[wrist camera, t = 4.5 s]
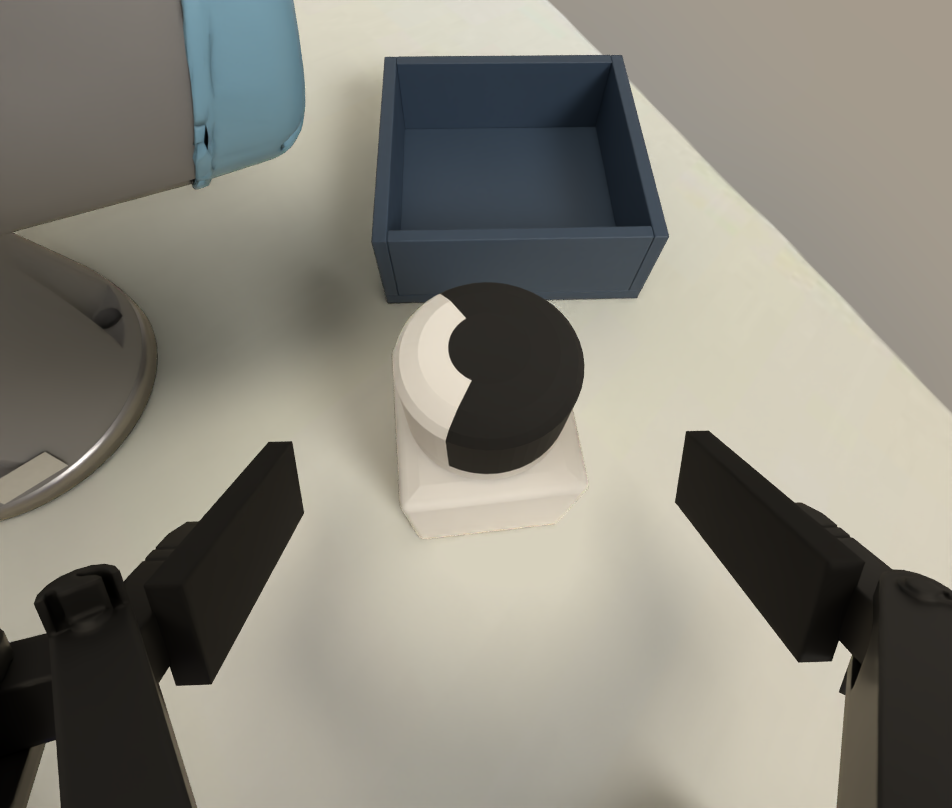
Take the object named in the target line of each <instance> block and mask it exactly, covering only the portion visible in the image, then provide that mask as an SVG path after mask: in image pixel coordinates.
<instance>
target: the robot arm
mask: <svg viewBox="0 0 952 808" xmlns="http://www.w3.org/2000/svg"><path fill="white" fill-rule="evenodd" d="M304 112H305V81H304V70H303V62H302V54H301V47H300V40H299V33H298V26H297V20H296V14H295V8H294V2H293V0H0V521H2V520H5V519H9V518H12V517H15V516H18V515H20V514H23V513H26V512H28V511H31V510H33V509H35V508H37V507H39V506H42V505H44V504H46V503H48V502H50V501H51V500H53V499H55V498H57V497H59V496H60V495H62V494H64V493H65V492H67V491H68V490H70V489H71V488H73V487H74V486H76V485H77V484H79V483H80V482H81V481H83V480H84V479H85V478H87V477H88V476H89V475H91V474H92V473H93V472H94V471H95V470H96V469H97V468H99V467H100V466H101V465H102V464H103V463H104V462H105V461H106V460H107V459H108V458H109V457H110V456H111V455H112V454H113V453H114V452H115V451H116V450H117V448H118V447H119V446H120V445H121V444H122V443H123V441H124V440H125V439H126V437H127V436H128V435H129V433H130V432H131V431H132V429H133V428H134V426H135V424H136V423H137V421H138V420H139V418H140V416H141V414H142V412H143V410H144V408H145V406H146V404H147V402H148V399H149V397H150V394H151V392H152V388H153V385H154V381H155V376H156V370H157V345H156V340H155V335H154V333H153V330H152V327H151V325H150V323H149V321H148V319H147V317H146V316H145V314H144V313H143V311H142V310H141V309H140V308H139V307H138V306H137V305H136V304H135V302H133V301H132V300H131V299H130V298H129V297H128V296H127V295H126V294H125V293H124V292H123V291H122V290H121V289H119V288H118V287H117V286H116V285H115V284H113V283H112V282H110V281H109V280H107V279H106V278H104V277H103V276H101V275H100V274H98V273H97V272H95V271H94V270H92V269H90V268H88V267H86V266H84V265H82V264H80V263H77V262H75V261H73V260H71V259H69V258H67V257H64V256H62V255H60V254H58V253H56V252H54V251H51V250H49V249H47V248H45V247H43V246H41V245H38V244H36V243H34V242H32V241H30V240H28V239H25V238H23V237H21V236H19V235H17V234H15V233H12V232H14V231H18V230H22V229H26V228H29V227H33V226H37V225H40V224H44V223H48V222H52V221H55V220H59V219H63V218H66V217H70V216H74V215H78V214H81V213H85V212H89V211H92V210H96V209H100V208H104V207H107V206H111V205H115V204H118V203H122V202H126V201H130V200H133V199H137V198H141V197H144V196H148V195H152V194H156V193H159V192H163V191H167V190H170V189H174V188H178V187H182V186H185V185H189V184H192V186H193V188H194V189H201V188H204V187H206V186H208V185H209V184H210V182H211V179H212V178H215V177H218V176H221V175H224V174H227V173H231V172H234V171H237V170H240V169H243V168H246V167H249V166H252V165H255V164H259V163H262V162H265V161H268V160H271V159H274V158H276V157H278V156H280V155H282V154H283V153H285V152H286V151H287V150H288V149H289V148H291V146H292V145H293V144H294V142H295V141H296V139H297V137H298V135H299V133H300V131H301V129H302V125H303V119H304ZM675 503H676V504H677V505H678V506H679V508H680V509H681V510H682V512H683V513H684V514H685V516H686V517H687V518H688V519H689V521H690V522H691V523H692V525H693V526H694V527H695V529H696V530H697V531H698V532H699V534H700V535H701V536H702V538H703V539H704V540H705V542H706V543H707V544H708V545H709V547H710V548H711V549H712V551H713V552H714V553H715V555H716V556H717V557H718V558H719V560H720V561H721V562H722V564H723V565H724V566H725V568H726V569H727V570H728V571H729V573H730V574H731V575H732V577H733V578H734V579H735V581H736V582H737V583H738V584H739V586H740V587H741V588H742V590H743V591H744V592H745V594H746V595H747V596H748V597H749V599H750V600H751V601H752V603H753V604H754V605H755V607H756V608H757V609H758V610H759V612H760V613H761V614H762V616H763V617H764V618H765V620H766V621H767V622H768V623H769V625H770V626H771V627H772V629H773V630H774V631H775V633H776V634H777V635H778V636H779V638H780V639H781V640H782V642H783V643H784V644H785V646H786V647H787V648H788V649H789V651H790V652H791V653H792V655H793V656H794V657H795V659H796V660H797V661H798V662H825V661H832V659H833V656H834V653H835V650H836V647H837V644H838V641H840V642H841V643H842V644H843V645H844V646H845V647H846V648H847V649H848V650H849V652H850V653H851V654H852V657H851V659H850V662H849V665H848V668H847V671H846V673H845V676H844V679H843V682H842V685H841V687H840V690H839V693H842V694H844V695H845V694H846V695H845V708H844V721H843V733H842V746H841V759H840V771H839V784H838V796H837V808H952V591H951V590H950V589H949V588H948V587H946V586H944V585H942V584H941V583H939V582H937V581H935V580H933V579H931V578H928V577H926V576H923V575H921V574H918V573H914V572H910V571H905V570H892V569H891V568H890V567H889V566H887V565H886V564H885V563H884V562H882V561H881V560H880V559H879V558H877V557H876V556H875V555H874V554H872V553H871V552H870V551H869V550H867V549H866V548H865V547H864V546H862V545H861V544H860V543H859V542H857V541H856V540H855V539H854V538H850V535H849V534H847V533H846V532H845V531H844V530H842V529H841V528H838V527H837V525H836V524H835V523H834V522H833V521H831V520H830V519H829V518H828V517H826V516H825V515H824V514H823V513H821V512H819V511H817V510H815V509H813V508H811V507H809V506H807V505H805V504H803V503H794V502H793V501H792V500H791V499H790V498H788V497H787V496H786V495H785V494H784V493H782V492H781V491H780V490H779V489H778V488H776V487H775V486H774V485H773V484H772V483H770V482H769V481H768V480H767V479H766V478H764V477H763V476H762V475H761V474H760V473H759V472H757V471H756V470H755V469H754V468H753V467H751V466H750V465H749V464H748V463H747V462H745V461H744V460H743V459H742V458H741V457H739V456H738V455H737V454H736V453H735V452H733V451H732V450H731V449H730V448H729V447H727V446H726V445H725V444H724V443H723V442H721V441H720V440H719V439H718V438H717V437H715V436H714V435H713V434H712V433H711V432H710V431H686V435H685V442H684V448H683V455H682V461H681V467H680V474H679V480H678V487H677V493H676V499H675ZM303 514H304V510H303V504H302V498H301V492H300V486H299V480H298V474H297V468H296V462H295V456H294V450H293V444H292V441H289V442H268V443H267V445H266V446H265V447H264V448H263V449H262V450H261V451H260V452H259V454H258V455H257V456H256V457H255V458H254V459H253V460H252V462H251V463H250V464H249V465H248V466H247V467H246V468H245V470H244V471H243V472H242V473H241V474H240V475H239V476H238V478H237V479H236V480H235V481H234V482H233V483H232V484H231V486H230V487H229V488H228V489H227V490H226V491H225V492H224V494H223V495H222V496H221V497H220V498H219V499H218V500H217V502H216V503H215V504H214V505H213V506H212V507H211V508H210V510H209V511H208V512H207V513H206V514H205V515H204V516H203V518H202V519H201V520H200V521H199V522H186V523H185V524H183V525H182V526H180V527H178V528H177V529H175V530H174V531H172V532H171V533H169V534H168V535H167V536H166V537H165V538H164V539H163V540H162V541H161V542H160V543H159V544H158V545H157V547H156V550H153V551H152V552H151V553H150V554H149V555H148V556H147V557H146V558H145V561H142V563H141V564H140V565H139V566H138V567H137V568H136V569H135V570H134V571H133V572H132V573H131V574H130V575H129V576H128V577H127V578H126V580H125V581H124V582H123V579H122V576H121V573H120V571H119V570H118V569H117V567H116V566H113V565H108V564H99V565H90V566H87V567H83V568H80V569H76V570H74V571H72V572H70V573H67V574H65V575H63V576H61V577H59V578H57V579H56V580H54V581H53V582H51V583H50V584H48V585H47V586H46V587H45V588H44V589H43V590H42V591H41V592H40V593H39V594H38V595H37V597H36V599H35V602H34V605H35V608H36V610H37V612H38V614H39V617H40V619H41V621H42V624H43V626H44V628H45V630H46V634H42V635H38V636H34V637H30V638H26V639H22V640H18V641H14V642H10V643H9V641H8V639H7V637H6V635H5V633H4V631H3V630H1V629H0V808H26V806H27V803H28V800H29V796H30V793H31V790H32V787H33V783H34V780H35V777H36V773H37V770H38V767H39V764H40V760H41V757H42V754H43V750H44V747H45V744H46V743H47V742H50V741H54V740H56V746H57V760H58V773H59V787H60V801H61V808H197V805H196V802H195V799H194V796H193V792H192V789H191V786H190V783H189V779H188V776H187V773H186V770H185V766H184V763H183V760H182V757H181V753H180V750H179V747H178V744H177V740H176V737H175V734H174V731H173V727H172V724H171V721H170V718H169V714H168V711H167V708H166V705H165V702H164V698H163V695H162V692H161V689H160V686H159V682H160V680H161V679H162V677H163V675H164V674H165V672H166V671H167V669H168V668H169V666H170V669H171V672H172V675H173V678H174V681H175V684H176V686H182V685H209V684H212V682H213V681H214V679H215V677H216V675H217V673H218V671H219V669H220V668H221V666H222V664H223V662H224V660H225V658H226V657H227V655H228V653H229V651H230V649H231V647H232V645H233V644H234V642H235V640H236V638H237V636H238V634H239V632H240V631H241V629H242V627H243V625H244V623H245V621H246V619H247V618H248V616H249V614H250V612H251V610H252V608H253V606H254V605H255V603H256V601H257V599H258V597H259V595H260V594H261V592H262V590H263V588H264V586H265V584H266V582H267V581H268V579H269V577H270V575H271V573H272V571H273V569H274V568H275V566H276V564H277V562H278V560H279V558H280V556H281V555H282V553H283V551H284V549H285V547H286V545H287V543H288V542H289V540H290V538H291V536H292V534H293V532H294V531H295V529H296V527H297V525H298V523H299V521H300V519H301V518H302V516H303Z"/></svg>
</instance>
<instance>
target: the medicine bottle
mask: <svg viewBox="0 0 952 808" xmlns="http://www.w3.org/2000/svg"><path fill="white" fill-rule="evenodd" d="M392 366H393V386H394V405H395V425H396V444H397V464H398V483H399V503H400V507H401V509H402V511H403V513H404V514H405V516H406V517H407V519H408V521H409V522H410V524H411V525H412V527H413V528H414V530H415V532H416V533H417V535H418V536H419V537H420V538H421V539H432V538H440V537H449V536H457V535H466V534H474V533H483V532H491V531H500V530H508V529H517V528H525V527H534V526H543V525H551V524H555V523H557V522H558V521H559V520H560V519H561V518H562V517H563V516H564V515H565V514H566V513H567V511H568V510H569V509H570V508H571V507H572V506H573V505H574V504H575V503H576V502H577V501H578V499H579V498H580V497H581V496H582V495H583V494H584V493H585V492H586V490H587V489H588V487H589V481H588V477H587V472H586V468H585V463H584V458H583V454H582V449H581V445H580V440H579V435H578V431H577V426H576V422H575V417H574V413H573V407H574V405H575V403H576V401H577V399H578V396H579V394H580V391H581V388H582V383H583V378H584V358H583V352H582V348H581V345H580V341H579V339H578V337H577V335H576V333H575V331H574V329H573V328H572V326H571V324H570V323H569V321H568V320H567V319H566V318H565V317H564V315H563V314H562V313H561V312H560V311H559V310H558V309H557V308H555V307H554V306H553V305H552V304H551V303H549V302H548V301H546V300H545V299H543V298H542V297H540V296H538V295H536V294H534V293H532V292H530V291H528V290H525V289H522V288H520V287H516V286H513V285H509V284H503V283H494V282H481V283H471V284H466V285H462V286H458V287H455V288H452V289H449V290H446V291H444V292H442V293H440V294H438V295H436V296H434V297H433V298H431V299H430V300H428V301H426V302H425V303H424V304H423V305H422V306H420V307H419V308H418V309H417V310H416V311H415V312H414V313H413V314H412V315H411V317H410V318H409V319H408V321H407V322H406V324H405V325H404V326H403V328H402V330H401V332H400V334H399V336H398V339H397V342H396V345H395V348H394V349H393V352H392Z"/></svg>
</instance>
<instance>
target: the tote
mask: <svg viewBox="0 0 952 808" xmlns="http://www.w3.org/2000/svg"><path fill="white" fill-rule="evenodd" d="M668 238H669V234H668V230H667V226H666V223H665V219H664V215H663V211H662V207H661V203H660V200H659V196H658V192H657V188H656V184H655V180H654V176H653V173H652V169H651V165H650V161H649V157H648V153H647V149H646V146H645V142H644V138H643V134H642V130H641V126H640V123H639V119H638V115H637V111H636V107H635V103H634V99H633V96H632V92H631V88H630V84H629V80H628V76H627V73H626V69H625V65H624V61H623V57H622V55H611V56H610V55H546V56H421V57H385V60H384V74H383V88H382V102H381V115H380V129H379V143H378V157H377V171H376V185H375V199H374V213H373V227H372V240H371V242H372V246H373V250H374V254H375V257H376V261H377V265H378V269H379V273H380V277H381V280H382V284H383V288H384V292H385V296H386V299H387V302H388V303H411V302H426V301H428V300H430V299H431V298H433V297H434V296H436V295H438V294H440V293H442V292H444V291H446V290H449V289H452V288H455V287H458V286H462V285H466V284H471V283H481V282H494V283H503V284H509V285H513V286H516V287H520V288H522V289H525V290H528V291H530V292H532V293H534V294H536V295H538V296H540V297H542V298H543V299H545V300H555V299H604V298H637V297H638V295H639V293H640V291H641V289H642V287H643V286H644V284H645V282H646V280H647V278H648V276H649V274H650V272H651V270H652V268H653V266H654V265H655V263H656V261H657V259H658V257H659V255H660V253H661V251H662V249H663V247H664V245H665V244H666V242H667V240H668Z"/></svg>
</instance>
